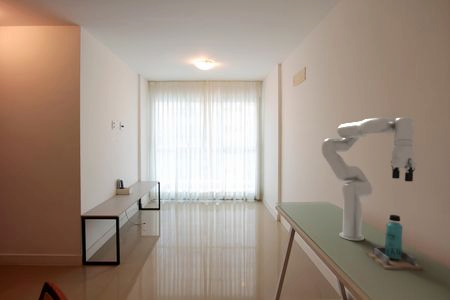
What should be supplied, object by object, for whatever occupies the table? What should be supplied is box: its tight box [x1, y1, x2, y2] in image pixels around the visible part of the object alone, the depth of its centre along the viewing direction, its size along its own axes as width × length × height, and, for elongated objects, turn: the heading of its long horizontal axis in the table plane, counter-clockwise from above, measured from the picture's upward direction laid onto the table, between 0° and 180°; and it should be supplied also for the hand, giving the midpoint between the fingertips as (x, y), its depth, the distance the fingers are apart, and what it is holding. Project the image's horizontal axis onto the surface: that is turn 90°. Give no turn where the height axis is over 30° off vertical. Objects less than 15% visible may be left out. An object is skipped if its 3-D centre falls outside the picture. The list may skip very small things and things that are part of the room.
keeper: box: [365, 246, 424, 271], centre depth 123 cm, size 16×16×4 cm
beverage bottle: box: [384, 214, 404, 259], centre depth 123 cm, size 6×7×20 cm
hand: (402, 179), depth 129 cm, fingers open, 9 cm apart
